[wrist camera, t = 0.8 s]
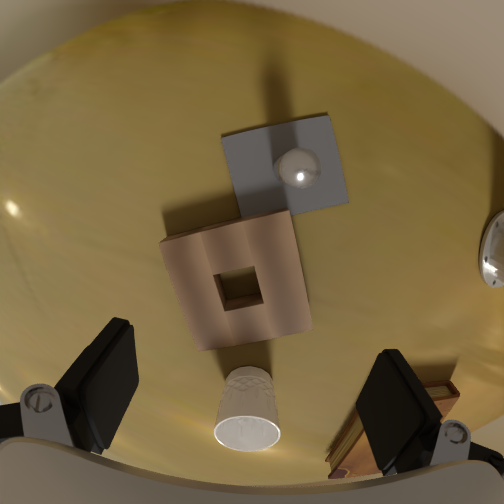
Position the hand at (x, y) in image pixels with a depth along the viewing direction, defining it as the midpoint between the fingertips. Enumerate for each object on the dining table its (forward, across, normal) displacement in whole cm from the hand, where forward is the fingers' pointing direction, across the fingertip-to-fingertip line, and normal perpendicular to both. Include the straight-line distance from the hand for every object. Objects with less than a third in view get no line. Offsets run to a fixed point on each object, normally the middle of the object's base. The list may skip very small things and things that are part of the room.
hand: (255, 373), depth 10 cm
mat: (+23, -2, -8) cm, 24 cm away
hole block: (+23, +1, +6) cm, 23 cm away
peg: (+22, -2, -8) cm, 24 cm away
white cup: (+23, -2, +22) cm, 32 cm away
